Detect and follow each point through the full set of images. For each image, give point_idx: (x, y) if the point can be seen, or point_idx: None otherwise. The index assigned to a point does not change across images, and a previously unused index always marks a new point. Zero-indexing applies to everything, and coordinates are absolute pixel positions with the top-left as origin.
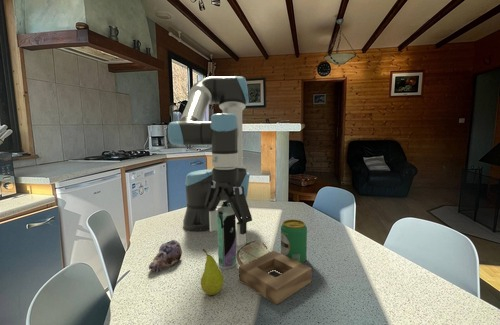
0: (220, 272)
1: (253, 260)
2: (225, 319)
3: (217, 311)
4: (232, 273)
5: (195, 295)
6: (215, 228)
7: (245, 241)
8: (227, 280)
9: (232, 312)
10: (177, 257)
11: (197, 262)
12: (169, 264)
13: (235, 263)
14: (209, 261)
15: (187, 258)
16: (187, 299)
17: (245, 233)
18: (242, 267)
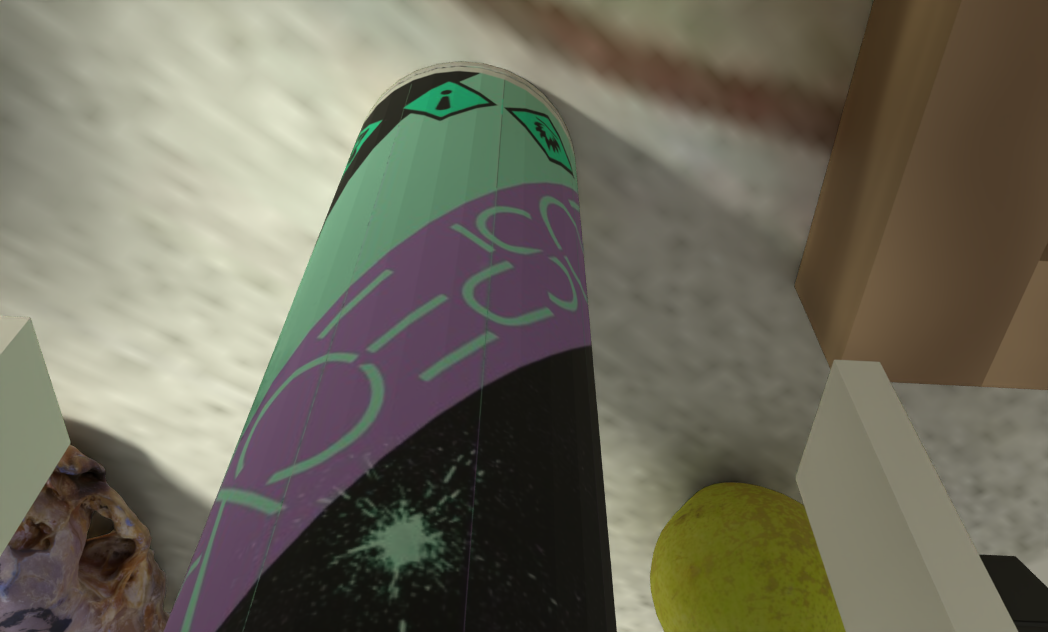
0: (826, 616)
1: (917, 174)
2: None
3: None
4: (655, 248)
5: (646, 571)
6: (26, 390)
7: (885, 383)
8: (702, 347)
9: (991, 528)
10: (77, 495)
11: (209, 346)
12: (141, 549)
13: (569, 142)
14: None
15: (63, 366)
16: (638, 611)
17: (942, 492)
18: (884, 362)
